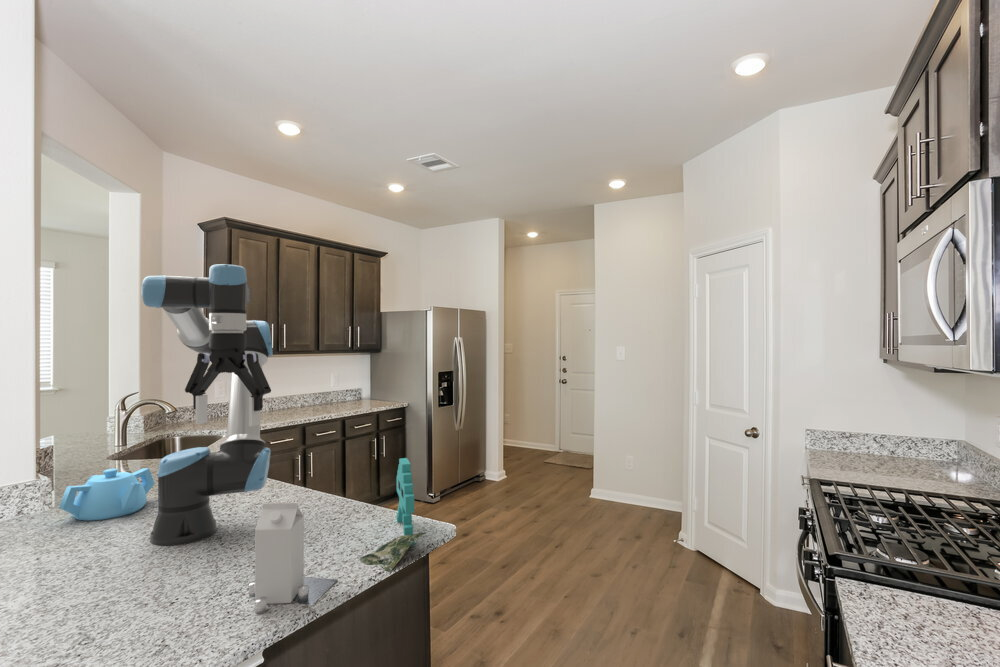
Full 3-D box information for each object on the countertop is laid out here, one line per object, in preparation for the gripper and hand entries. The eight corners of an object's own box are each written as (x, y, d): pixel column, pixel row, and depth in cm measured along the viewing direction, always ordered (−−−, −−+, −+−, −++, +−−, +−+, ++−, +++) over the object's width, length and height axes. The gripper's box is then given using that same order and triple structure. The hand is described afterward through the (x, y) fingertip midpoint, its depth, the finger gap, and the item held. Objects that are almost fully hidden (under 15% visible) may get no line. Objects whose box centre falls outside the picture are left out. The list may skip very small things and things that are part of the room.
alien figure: (414, 546, 125) (414, 470, 125) (405, 548, 124) (405, 471, 124) (404, 519, 144) (404, 452, 144) (396, 520, 143) (396, 453, 143)
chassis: (210, 625, 91) (210, 604, 91) (267, 579, 108) (267, 562, 108) (292, 634, 88) (292, 612, 88) (337, 586, 105) (337, 568, 105)
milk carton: (270, 586, 102) (270, 497, 102) (303, 585, 103) (304, 496, 103) (254, 605, 95) (254, 509, 95) (291, 604, 95) (291, 508, 96)
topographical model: (382, 540, 129) (380, 531, 129) (427, 539, 122) (425, 529, 122) (340, 574, 115) (337, 564, 115) (389, 575, 108) (386, 564, 108)
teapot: (56, 529, 136) (57, 480, 136) (87, 507, 154) (88, 464, 154) (137, 520, 143) (138, 474, 143) (158, 500, 161) (158, 459, 161)
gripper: (166, 332, 108) (166, 425, 108) (266, 332, 104) (266, 429, 104) (193, 332, 116) (192, 419, 116) (287, 332, 112) (287, 422, 112)
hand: (227, 424), depth 110 cm, fingers open, 13 cm apart
